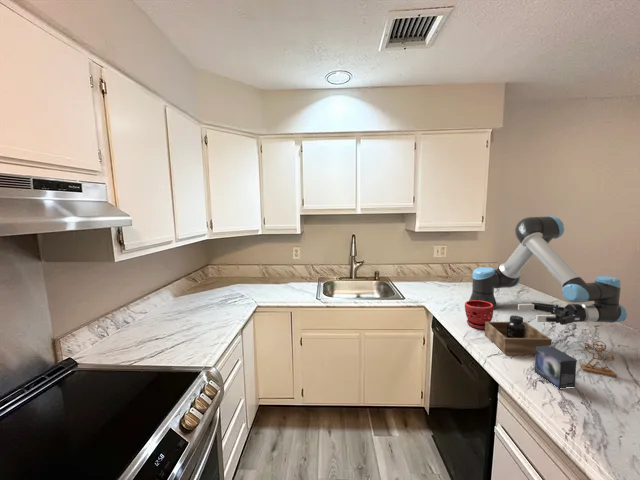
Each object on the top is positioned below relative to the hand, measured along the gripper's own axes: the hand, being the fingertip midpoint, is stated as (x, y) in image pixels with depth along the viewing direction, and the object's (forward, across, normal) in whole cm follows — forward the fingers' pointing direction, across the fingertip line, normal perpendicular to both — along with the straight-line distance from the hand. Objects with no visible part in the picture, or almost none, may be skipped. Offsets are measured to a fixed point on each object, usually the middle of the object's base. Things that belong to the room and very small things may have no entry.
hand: (526, 312), depth 125 cm
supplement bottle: (+4, 0, -14) cm, 15 cm away
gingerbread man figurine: (-14, -20, -16) cm, 29 cm away
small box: (+5, -26, -16) cm, 31 cm away
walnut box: (+4, 0, -15) cm, 16 cm away
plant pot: (+11, +21, -15) cm, 29 cm away
